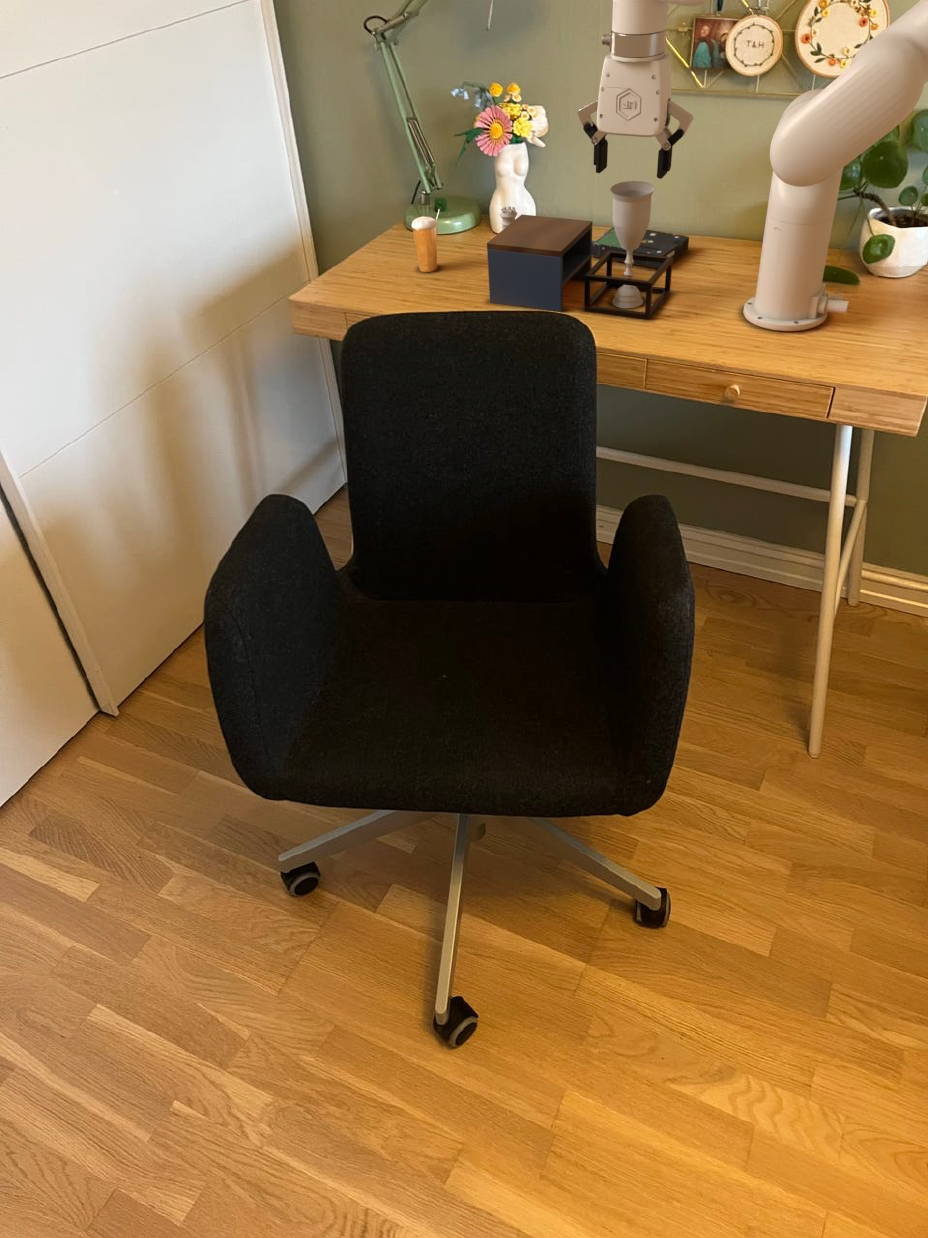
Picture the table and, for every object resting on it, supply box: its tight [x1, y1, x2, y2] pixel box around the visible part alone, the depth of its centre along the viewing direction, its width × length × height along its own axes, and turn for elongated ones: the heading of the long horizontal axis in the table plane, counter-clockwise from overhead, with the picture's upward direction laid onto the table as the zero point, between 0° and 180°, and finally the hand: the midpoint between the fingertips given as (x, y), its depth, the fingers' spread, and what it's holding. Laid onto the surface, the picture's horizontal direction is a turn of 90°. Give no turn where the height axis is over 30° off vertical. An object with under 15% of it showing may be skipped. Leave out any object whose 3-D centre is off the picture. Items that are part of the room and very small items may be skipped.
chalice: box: [610, 180, 656, 309], centre depth 154 cm, size 7×7×18 cm
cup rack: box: [583, 251, 674, 320], centre depth 157 cm, size 11×11×6 cm
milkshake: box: [411, 209, 441, 273], centre depth 173 cm, size 4×5×10 cm
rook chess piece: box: [499, 205, 518, 231], centre depth 177 cm, size 4×4×8 cm
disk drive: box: [592, 226, 690, 269], centre depth 174 cm, size 10×3×15 cm
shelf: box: [486, 214, 593, 313], centre depth 162 cm, size 13×14×10 cm
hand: (631, 172), depth 146 cm, fingers open, 9 cm apart
